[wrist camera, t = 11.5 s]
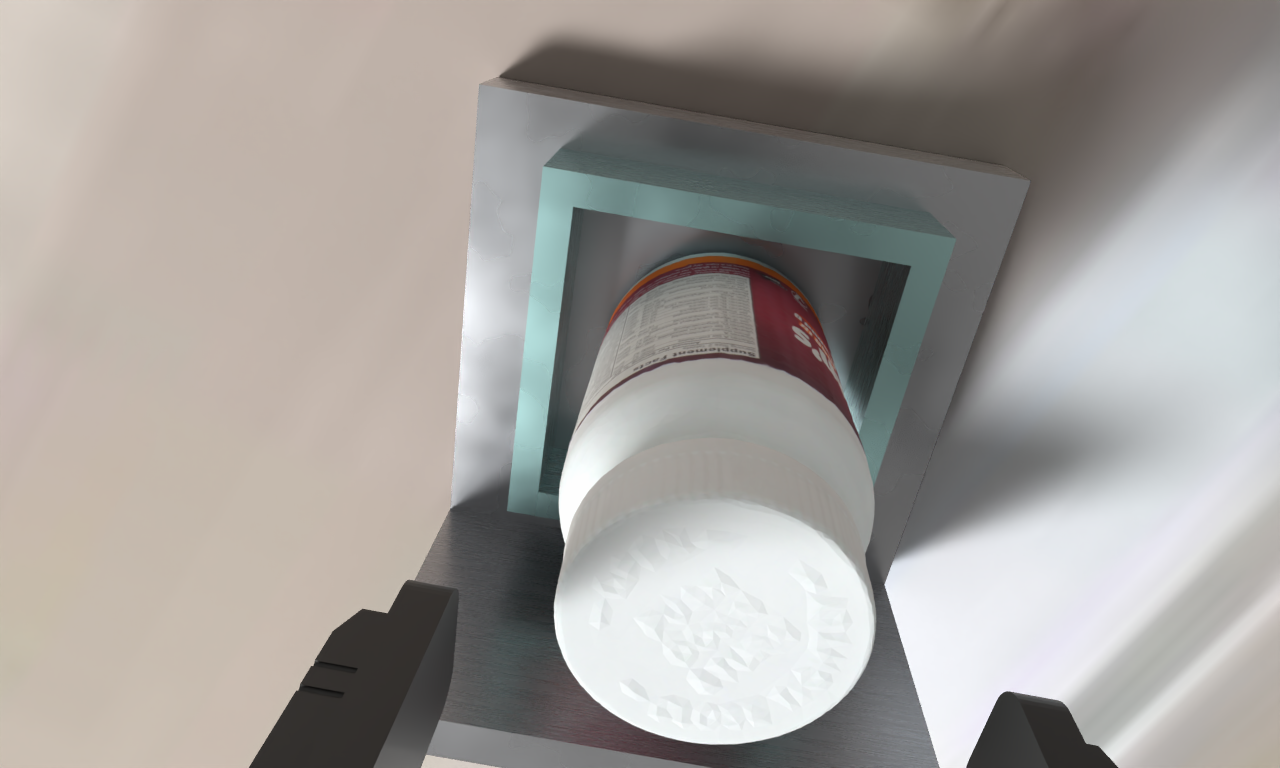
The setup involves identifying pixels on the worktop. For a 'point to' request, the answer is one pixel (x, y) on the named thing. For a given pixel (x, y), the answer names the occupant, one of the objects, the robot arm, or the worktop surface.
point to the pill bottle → (715, 511)
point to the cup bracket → (569, 345)
